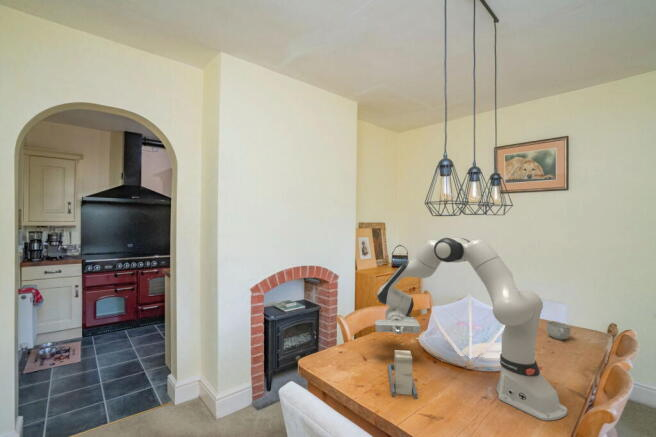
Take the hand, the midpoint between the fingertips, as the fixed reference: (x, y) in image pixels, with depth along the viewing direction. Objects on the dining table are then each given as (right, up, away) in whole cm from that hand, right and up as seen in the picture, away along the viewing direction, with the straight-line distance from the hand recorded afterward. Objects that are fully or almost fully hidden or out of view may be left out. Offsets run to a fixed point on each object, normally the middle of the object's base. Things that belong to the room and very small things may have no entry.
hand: (399, 332), depth 138 cm
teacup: (+98, -17, +38) cm, 107 cm away
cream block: (-2, -16, -17) cm, 23 cm away
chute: (-2, -17, -11) cm, 20 cm away
